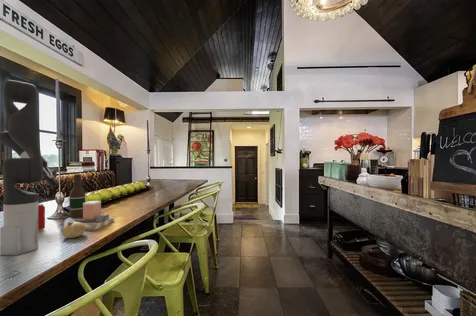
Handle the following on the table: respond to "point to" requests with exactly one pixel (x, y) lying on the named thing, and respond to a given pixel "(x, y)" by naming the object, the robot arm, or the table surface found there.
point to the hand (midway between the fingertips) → (55, 185)
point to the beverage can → (41, 217)
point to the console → (96, 222)
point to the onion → (73, 229)
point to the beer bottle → (76, 198)
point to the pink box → (91, 210)
